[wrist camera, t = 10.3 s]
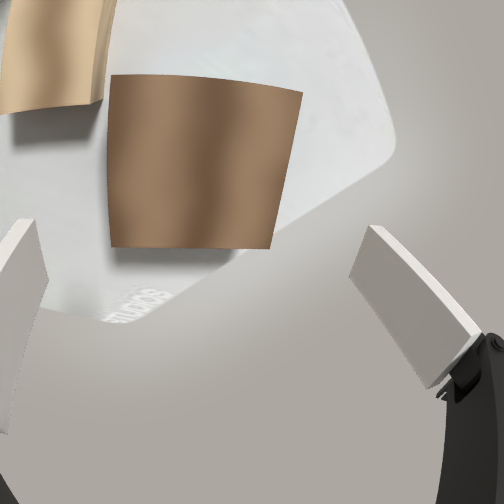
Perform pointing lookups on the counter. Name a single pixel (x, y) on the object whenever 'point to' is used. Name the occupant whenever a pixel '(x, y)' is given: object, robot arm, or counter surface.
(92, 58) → the tan wooden block
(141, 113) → the lid
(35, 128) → the counter surface
